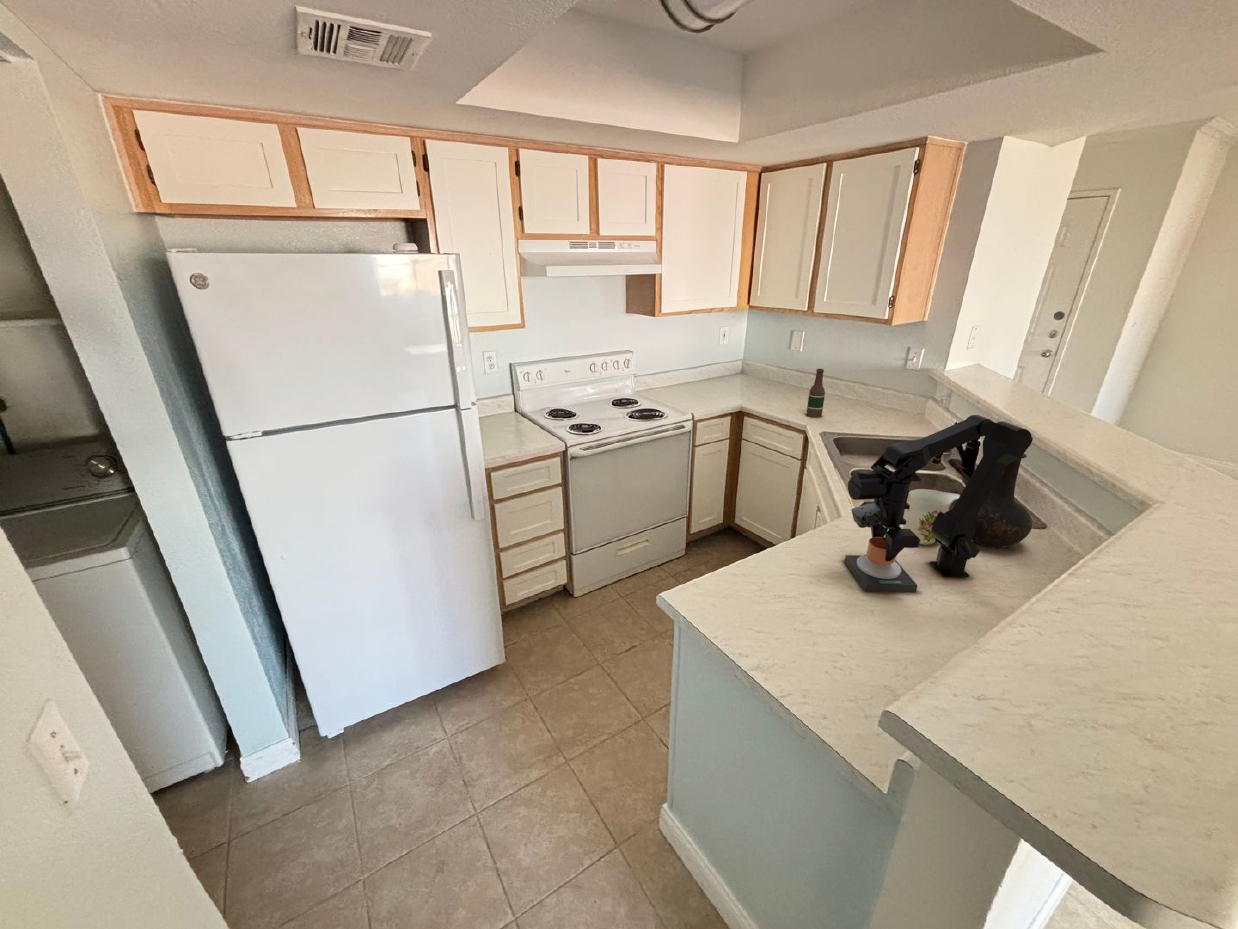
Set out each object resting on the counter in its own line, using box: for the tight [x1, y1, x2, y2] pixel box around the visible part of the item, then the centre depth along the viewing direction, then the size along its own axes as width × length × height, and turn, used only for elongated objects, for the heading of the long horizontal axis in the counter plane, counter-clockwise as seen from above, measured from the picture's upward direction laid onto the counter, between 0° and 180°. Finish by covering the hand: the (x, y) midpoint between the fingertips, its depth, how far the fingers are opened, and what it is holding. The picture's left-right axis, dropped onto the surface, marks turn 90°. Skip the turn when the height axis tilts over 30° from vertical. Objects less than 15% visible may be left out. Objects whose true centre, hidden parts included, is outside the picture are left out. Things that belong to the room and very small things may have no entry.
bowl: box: [865, 536, 897, 565], centre depth 124 cm, size 6×6×4 cm
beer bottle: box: [806, 368, 826, 419], centre depth 254 cm, size 8×8×24 cm
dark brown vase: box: [972, 453, 1033, 548], centre depth 137 cm, size 18×18×28 cm
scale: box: [844, 554, 918, 593], centre depth 126 cm, size 13×12×3 cm
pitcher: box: [900, 488, 961, 545], centre depth 140 cm, size 11×18×14 cm, turn 86°
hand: (881, 553), depth 125 cm, fingers closed on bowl, 6 cm apart
